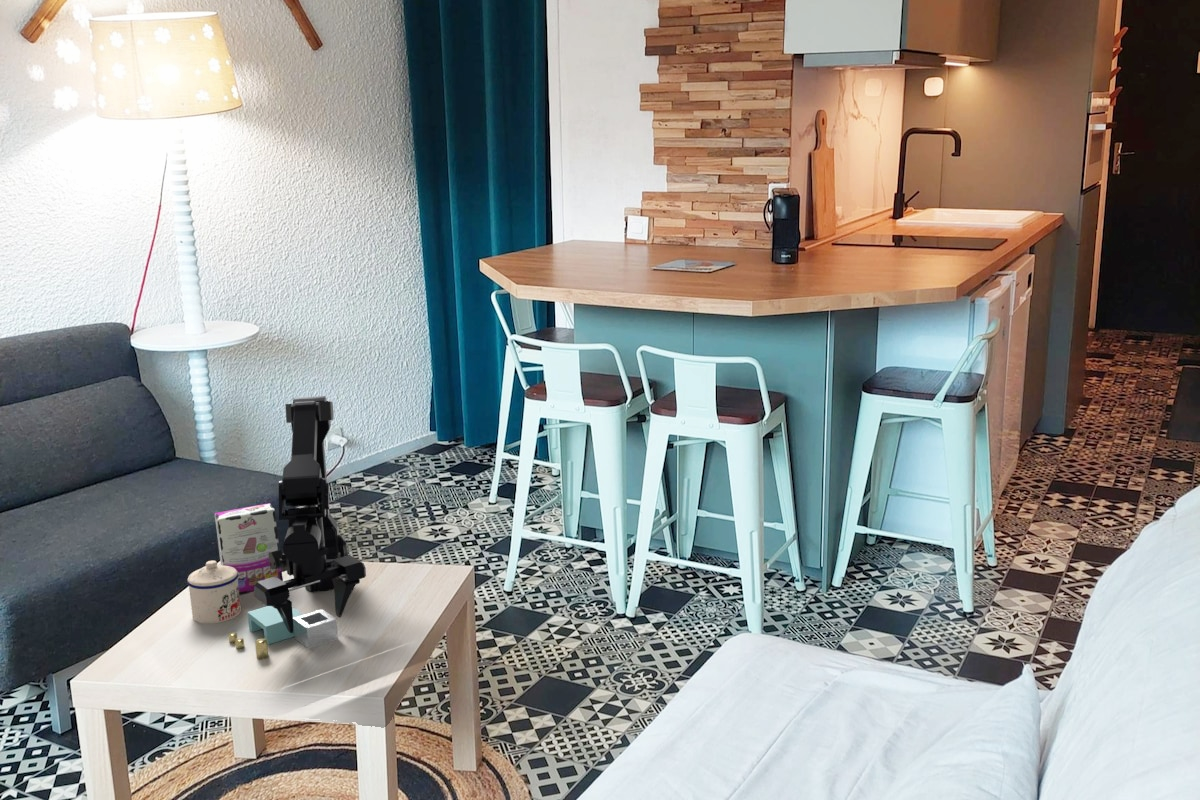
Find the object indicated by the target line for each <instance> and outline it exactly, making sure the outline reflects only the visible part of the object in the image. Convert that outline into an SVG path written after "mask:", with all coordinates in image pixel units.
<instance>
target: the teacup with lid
mask: <svg viewBox="0 0 1200 800" xmlns="http://www.w3.org/2000/svg"><path fill="white" fill-rule="evenodd" d="M186 583H187V585H188V590H189V597H190V606H191V615H192V619H193V620H194V621H195V622H197V623H200V624H216V623H217V624H218V623H223V622H226V621H229V620H231V619H234V618H236V617H237V616H238V615H239V614H240V613H241V611H242V607H241V600H240V599H241V598H240V594H239V587H238V572H237V570H236V569H235V568H233V567H230V566H224V565H221V564H219V563H218V562H217V561H216V560H208V561H206V563H205V566H203V567H201V568H199V569H196V570H195V571H194V570H193V572H191V573H190V574H189V575H188V578H187V581H186Z"/></svg>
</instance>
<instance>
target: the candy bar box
mask: <svg viewBox="0 0 1200 800" xmlns="http://www.w3.org/2000/svg"><path fill="white" fill-rule="evenodd" d="M214 520H215V521H214V522H215V528H216V535H217V546H218V553H219V562H220V565H224V566H230V567H233V568H235V569H236V570H237V572H238V587H239V595H243V594H249V593H254V587H255V585H256V583H257V582H258V581H261V580H265V579H268V578H272V577H275V576H276V577H277V578H278V579H280V580H281V581H284V580H283V579H284V578H283V572H281V568H279V569H274V570H272V569H271V567H270V563H269V552H273V551H276V550H280V544H279V536H278V535H279V534H278V526H277V518H276V510H275V508H274V507H273V506H272V504H271V503H270V502H269V503H262V504H258V505H252V506H247V507H241V508H234V509H229V510H225V511H219V512H214Z"/></svg>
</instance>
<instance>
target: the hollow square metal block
mask: <svg viewBox="0 0 1200 800" xmlns="http://www.w3.org/2000/svg"><path fill="white" fill-rule="evenodd" d="M337 622H338V621H337V618H336V617H334V616H333V615H331V614H330V613H328V612H327V611H325V610H324V609H323V608H321V609H316V610H314V611H311V612H308V613H305V614H303V615H301V616H298V617H295V618H293V626H294V639H295V640H296V641H298V643H301V645H303V646H304V647H305V648H307V649H308V650H311V649H313V648H317V647H319V646H322V645H325V644H328V643H330V642H333V641H337V640H339V634H338V625H337V624H338V623H337Z"/></svg>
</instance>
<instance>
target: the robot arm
mask: <svg viewBox="0 0 1200 800" xmlns="http://www.w3.org/2000/svg"><path fill="white" fill-rule="evenodd" d="M334 413H335V412H334V403H333V401H330V400H327V397H326V396H323V395H322V396H308V397H306V396H305V397H293V399H292V403H285V418H286V419H285V420H286V421H285V422H286V424H289V423H290V424H291V432H292V436H291V438H292V441H291V453H290V454H291V458H290V461H289V462H288V463H286V465H285V466H283V470H282V479H281V480H279V481H278V521H288V528H287V531H286V534H285V537H284V541H283V544H282V549H279V550H276V551H273V552H269V563H270V567H271V569H272V570H274V569H279V568H281V572H282V573H284V572H286V574H287V575H288V576H293V578H290V579H287V580H283V581H281V580H280V579H278V578H277V577H276V576H275V577H272V578H268V579H265V580H261V581H258V582H257V583H256V585H255V587H254V591H253V593H254V597H255V598H256V599H257V600H259V601H260V602H261V603H262V604H264V606H265V607H266V606H272V607H274V608H276V609H277V610H278V612H279V614H280V616H281V618H282V620H283V622H284V624H285V626H286V628H287V630H288V631H289V632H290V633H293V613H292V607H293V601H291V600H290V599H289V598H290V597H291V596H290V595H291V594H290V592H292V591H295V590H299V589H302V588H305V590H307V591H308V592H309V593H317V592H327V591H332V590H334V592H333V593H334V609H335V615H336V617H337V618H342V616H343V613H344V610H345V608H346V605H347V603H348V601H349V598H350V597H351V595H352V593H353V591H354V589H355V587H356V586H357V585H358V584H360V582H361V579H364V578H366V577H367V570H366V566H365V563H364V562H362V560H359V559H358V558H356V557H355V556H352V555H351V554H349V549H348V545H347V544H348V543H347V541H346V540H345V539H344V536H343V534H340V527H339V524H338V522H337V521H336V520H335V518H334V517H333V516H332V514H331V513H330V484H329V483H328V479H327V478H328V477H327V466H326V465H327V464H326V462H327V461H326V451H325V449H326V448H325V439H326V437H327V435H328V433H329V431H330V429H331V426H332V423H331V421H333V420H334V419H335V417H334ZM285 507H288V508H285ZM292 507H293V508H292ZM294 507H295V508H294Z"/></svg>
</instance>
